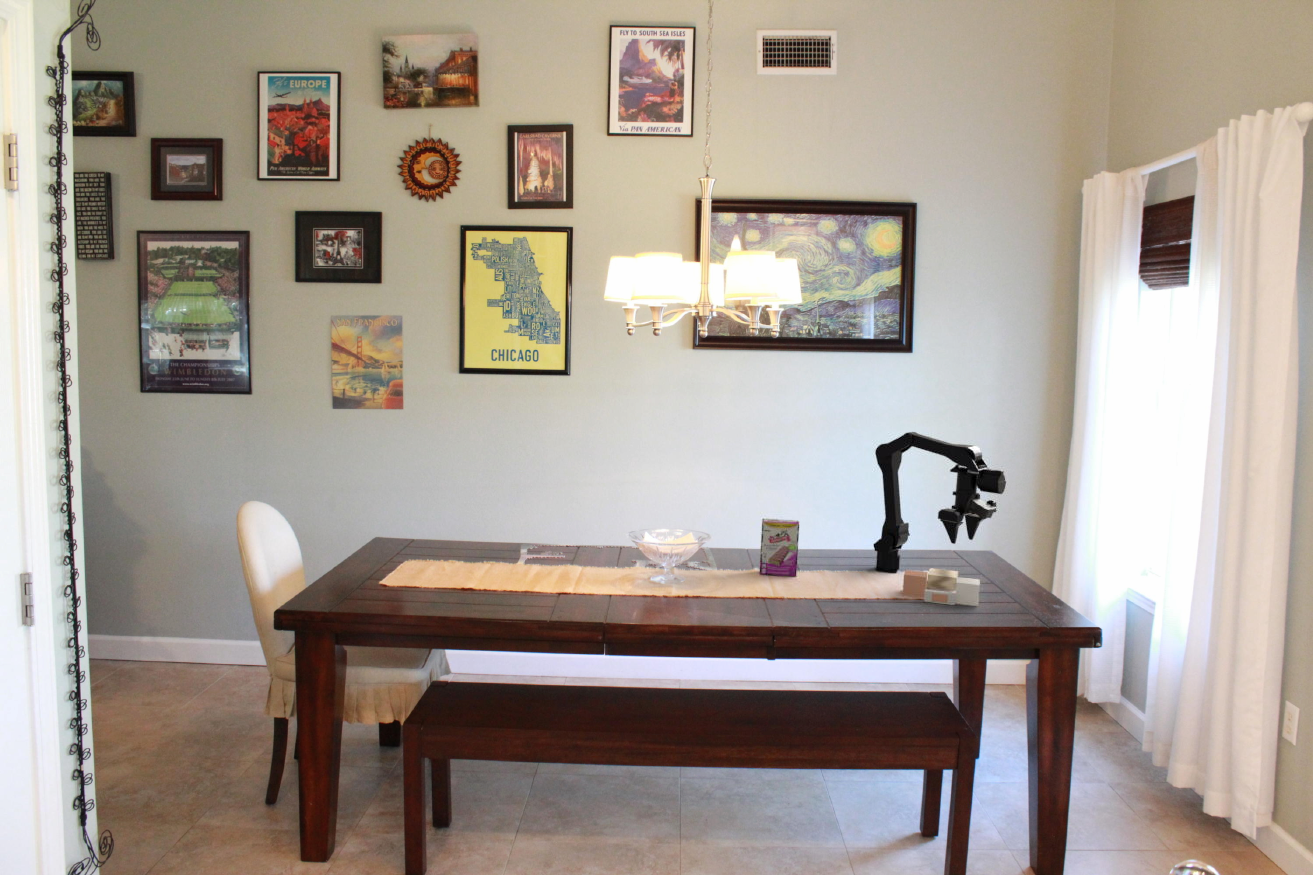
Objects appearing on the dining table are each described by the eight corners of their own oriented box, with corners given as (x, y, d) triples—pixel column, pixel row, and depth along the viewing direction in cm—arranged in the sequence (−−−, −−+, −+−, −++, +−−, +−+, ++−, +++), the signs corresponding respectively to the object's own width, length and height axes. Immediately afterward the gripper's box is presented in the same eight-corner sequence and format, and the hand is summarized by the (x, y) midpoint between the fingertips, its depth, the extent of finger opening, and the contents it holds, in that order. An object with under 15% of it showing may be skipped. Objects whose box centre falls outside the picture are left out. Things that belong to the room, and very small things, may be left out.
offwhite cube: (954, 603, 247) (956, 582, 247) (955, 597, 253) (956, 577, 252) (978, 606, 245) (979, 584, 245) (978, 600, 251) (979, 579, 250)
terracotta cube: (902, 595, 254) (903, 574, 253) (904, 590, 260) (905, 569, 259) (924, 598, 252) (926, 577, 251) (926, 592, 258) (927, 572, 257)
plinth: (924, 601, 248) (924, 590, 248) (924, 599, 250) (925, 589, 249) (954, 605, 245) (955, 594, 245) (954, 603, 247) (955, 592, 247)
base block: (927, 587, 263) (927, 574, 263) (929, 581, 271) (930, 568, 270) (956, 591, 260) (956, 577, 260) (957, 584, 268) (958, 571, 267)
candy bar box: (759, 575, 271) (761, 521, 269) (759, 570, 276) (761, 518, 274) (797, 577, 270) (799, 523, 268) (796, 572, 275) (798, 519, 273)
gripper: (974, 496, 251) (969, 551, 253) (1008, 490, 263) (1004, 543, 265) (938, 490, 259) (934, 543, 261) (974, 484, 271) (970, 535, 273)
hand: (962, 541), depth 265 cm, fingers open, 9 cm apart
